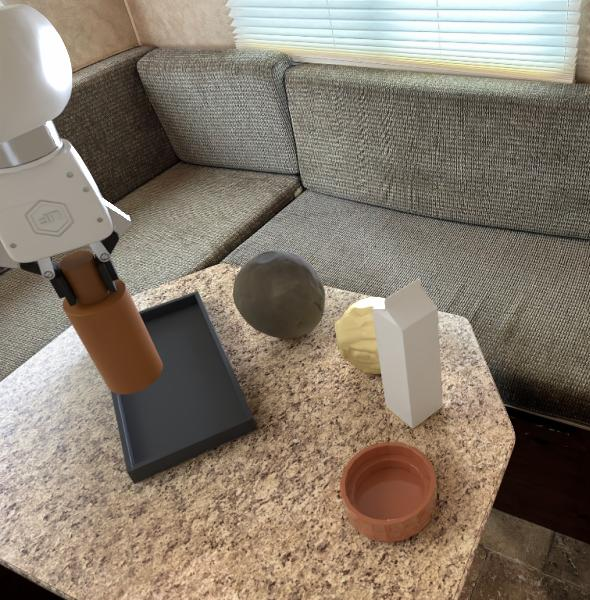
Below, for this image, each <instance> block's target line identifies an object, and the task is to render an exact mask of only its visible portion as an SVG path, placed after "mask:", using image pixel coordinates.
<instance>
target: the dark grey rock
mask: <svg viewBox="0 0 590 600" xmlns="http://www.w3.org/2000/svg"><path fill="white" fill-rule="evenodd" d="M232 299H233V303H234V305H235V308H236V309H237V311H238V313H239V314H240V316H241V317H242V318H243V319H244V321H245V322H246V323H247V324H248V325H249V326H250V327H251V328H252V329H254V330H255V331H257V332H259V333H260V334H263V335H266V336H269V337H271V338H276V339H284V340H285V339H286V340H288V339H296V338H299V337H302V336H305V335H307V334H309V333H311V332H312V331H313V330H314V329H316V328H317V326H318V325H319V324H320V323H321V321H322V320H323V319H322V318H323V315H324V312H325V306H326V290H325V286H324V283H323V281H322V278H321V277H320V275H319V273H318V272H317V270H316V269H315V268H314V267H313V266H312V264H311V263H310V262H308V261H307V259H305V258H303V257H301V256H300V255H298V254H295V253H293V252H290V251H287V250H279V249H273V250H266V251H261V252H260V253H257V254H256V255H253V256H252V257H251V258H249V259H248V260H247V261H246V263H244V265H242V266H241V268H240V269H239V271H238V272H237V274H236V276H235V278H234V281H233V288H232Z"/></svg>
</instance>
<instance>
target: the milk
mask: <svg viewBox="0 0 590 600" xmlns="http://www.w3.org/2000/svg"><path fill="white" fill-rule="evenodd" d="M372 313H373V320H374V327H375V334H376V341H377V348H378V355H379V361H380V368H381V373H380V375H381V382H382V388H383V389H382V390H383V395H384V403H385V407H386V408H387V409H389V411H391V412H392V414H394V415H395V416H397V418H399V419H400V420H401V421H402V422H404V423H405V424H406V425H407V426H408V427H409V428H410V429H412V430H414V429H415V428H416V427H418V426H419V425H420V424H422V423H423V422H424V421H426V420H427V419H429V418H430V417H432V415H434V414H435V413H436V412H438V411H439V410H441V408H443V406H444V400H443V384H442V365H441V348H440V346H441V345H440V344H441V343H440V328H439V327H440V325H439V311H438V306H437V304H435V303H434V301H433V300H432V299H431V297H430V296H429V295H428V294H427V293H426V291H425V290H424V289H423V287H422V280H421V278H417V279H415V280H414V281H412V282H411V283H409V284H407V285H405V286H404V287H402V288H401V289H399V290H397V291H395V292H393V293H392V294H391V295H389V296H387V297H385V300H384V302H382V303H381V304H379V305H378V306H376V307H374V308H373V309H372Z"/></svg>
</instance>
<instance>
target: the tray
mask: <svg viewBox="0 0 590 600" xmlns="http://www.w3.org/2000/svg"><path fill="white" fill-rule="evenodd" d="M138 312H139V314H140V316H141V318H142V320H143V323H144V325H145V327H146V329H147V331H148V333H149V335H150V338H151V340H152V342H153V344H154V346H155V348H156V350H157V352H158V355H159V357H160V359H161V361H162V363H163V369H162V373H161V375H160V376H159V378H158V379H157V380H156V381H155V382H154V383H153V384H151V385H150V386H149V387H147V388H145V389H143V390H141V391H139V392H136V393H132V394H116V393H114V392H112V391H110V395H111V400H112V404H113V410H114V416H115V419H116V424H117V430H118V435H119V439H120V445H121V450H122V455H123V460H124V465H125V469H126V474H127V475H128V477H129V478H130V480H131V482H132V483H133V485H135V484H137V483H139V482H142V481H145V480H146V479H149V478H151V477H154V476H156V475H159V474H160V473H162V472H164V471H167V470H169V469H171V468H174V467H176V466H178V465H180V464H183V463H185V462H188V461H189V460H192V459H195V458H196V457H199V456H201V455H203V454H205V453H208V452H210V451H213V450H215V449H217V448H219V447H221V446H224V445H226V444H228V443H231V442H233V441H236V440H237V439H240V438H242V437H244V436H246V435H249V434H251V433H253V432H256V431H258V430H259V426H258V425H257V422H256V419H255V416H254V414H253V411H252V410H251V408H250V405H249V403H248V400H247V398H246V396H245V394H244V391H243V390H242V387H241V385H240V382H239V380H238V378H237V376H236V373H235V371H234V369H233V366H232V364H231V362H230V360H229V357H228V356H227V352H226V351H225V348H224V346H223V344H222V342H221V339H220V337H219V335H218V333H217V331H216V328H215V326H214V323H213V322H212V319H211V317H210V314H209V312H208V310H207V308H206V305H205V304H204V301H203V299H202V297H201V294H200V292H199V290H195V291H193V292H190V293H187V294H184V295H182V296H179V297H176V298H173V299H170V300H168V301H165V302H162V303H159V304H156V305H153V306H151V307H148V308H145V309H142V310H138Z"/></svg>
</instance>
